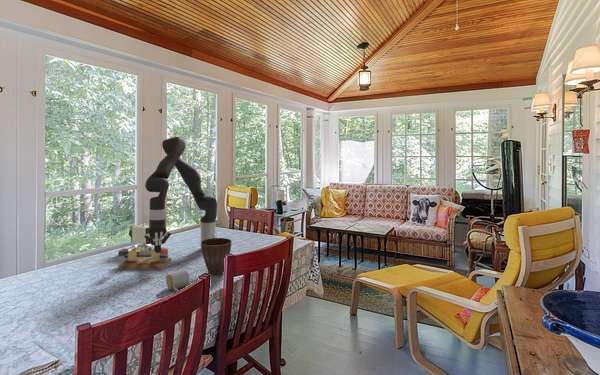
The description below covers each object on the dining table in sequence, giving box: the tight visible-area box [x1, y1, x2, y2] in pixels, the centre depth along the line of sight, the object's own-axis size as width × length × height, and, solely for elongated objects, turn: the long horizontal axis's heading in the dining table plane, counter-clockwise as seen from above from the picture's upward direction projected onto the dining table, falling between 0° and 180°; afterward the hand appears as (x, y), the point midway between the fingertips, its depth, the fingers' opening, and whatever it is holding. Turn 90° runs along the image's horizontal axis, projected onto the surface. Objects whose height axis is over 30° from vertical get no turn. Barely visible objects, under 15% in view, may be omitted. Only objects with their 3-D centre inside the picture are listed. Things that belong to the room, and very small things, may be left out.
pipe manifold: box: [122, 248, 169, 263], centre depth 180 cm, size 22×5×7 cm, turn 92°
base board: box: [118, 257, 173, 270], centre depth 180 cm, size 22×14×2 cm, turn 92°
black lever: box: [117, 244, 138, 257], centre depth 173 cm, size 2×15×2 cm, turn 1°
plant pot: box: [200, 237, 232, 276], centre depth 169 cm, size 15×15×16 cm
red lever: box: [160, 247, 169, 255], centre depth 175 cm, size 2×15×2 cm, turn 38°
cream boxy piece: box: [128, 222, 154, 250], centre depth 204 cm, size 18×8×18 cm, turn 65°
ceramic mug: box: [165, 268, 191, 293], centre depth 148 cm, size 11×8×8 cm
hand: (157, 252), depth 169 cm, fingers closed
